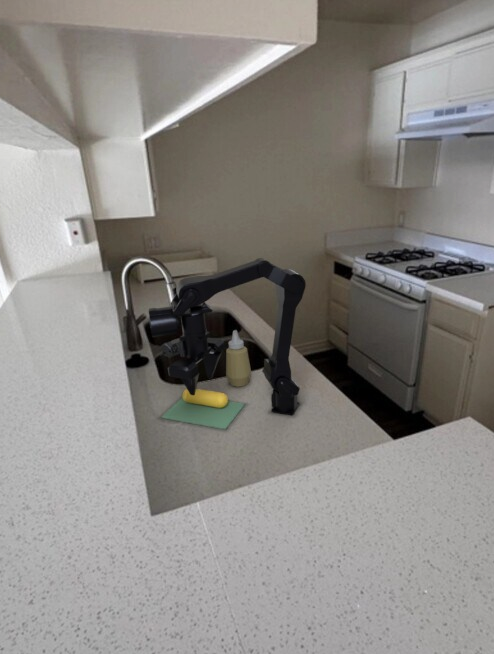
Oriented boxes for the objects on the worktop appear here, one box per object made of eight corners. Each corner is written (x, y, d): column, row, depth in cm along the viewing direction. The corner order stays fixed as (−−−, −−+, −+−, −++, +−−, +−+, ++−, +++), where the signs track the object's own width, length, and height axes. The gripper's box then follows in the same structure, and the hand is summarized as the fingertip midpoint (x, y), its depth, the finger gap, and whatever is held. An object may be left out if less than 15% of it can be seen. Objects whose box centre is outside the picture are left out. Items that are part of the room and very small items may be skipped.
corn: (231, 404, 122) (230, 391, 120) (224, 412, 118) (223, 398, 117) (188, 397, 127) (186, 384, 125) (180, 404, 123) (178, 391, 121)
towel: (245, 404, 122) (244, 403, 122) (225, 429, 111) (225, 428, 111) (185, 395, 129) (185, 394, 129) (161, 417, 118) (161, 416, 117)
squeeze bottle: (253, 377, 138) (250, 326, 130) (250, 389, 131) (246, 336, 123) (229, 376, 139) (224, 326, 131) (224, 388, 131) (219, 336, 124)
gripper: (185, 315, 113) (192, 367, 119) (144, 341, 97) (154, 399, 103) (222, 318, 109) (227, 371, 116) (185, 346, 93) (194, 406, 100)
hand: (201, 386), depth 109 cm, fingers open, 9 cm apart
